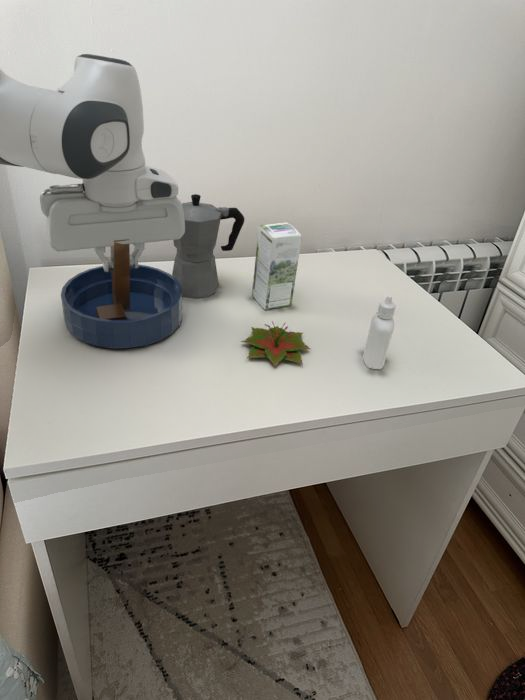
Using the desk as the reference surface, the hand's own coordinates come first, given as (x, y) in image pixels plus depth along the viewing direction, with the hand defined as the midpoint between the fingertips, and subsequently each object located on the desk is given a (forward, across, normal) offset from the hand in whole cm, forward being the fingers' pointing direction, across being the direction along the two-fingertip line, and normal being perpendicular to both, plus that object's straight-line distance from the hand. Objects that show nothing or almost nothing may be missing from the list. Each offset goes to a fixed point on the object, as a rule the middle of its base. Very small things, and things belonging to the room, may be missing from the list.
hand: (121, 268), depth 85 cm
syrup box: (+10, +27, -1) cm, 29 cm away
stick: (+8, 0, +2) cm, 8 cm away
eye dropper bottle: (+10, +35, -23) cm, 43 cm away
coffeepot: (+10, +16, +8) cm, 21 cm away
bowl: (+10, 0, +1) cm, 10 cm away
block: (+9, -3, -4) cm, 10 cm away
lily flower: (+10, +21, -15) cm, 28 cm away
